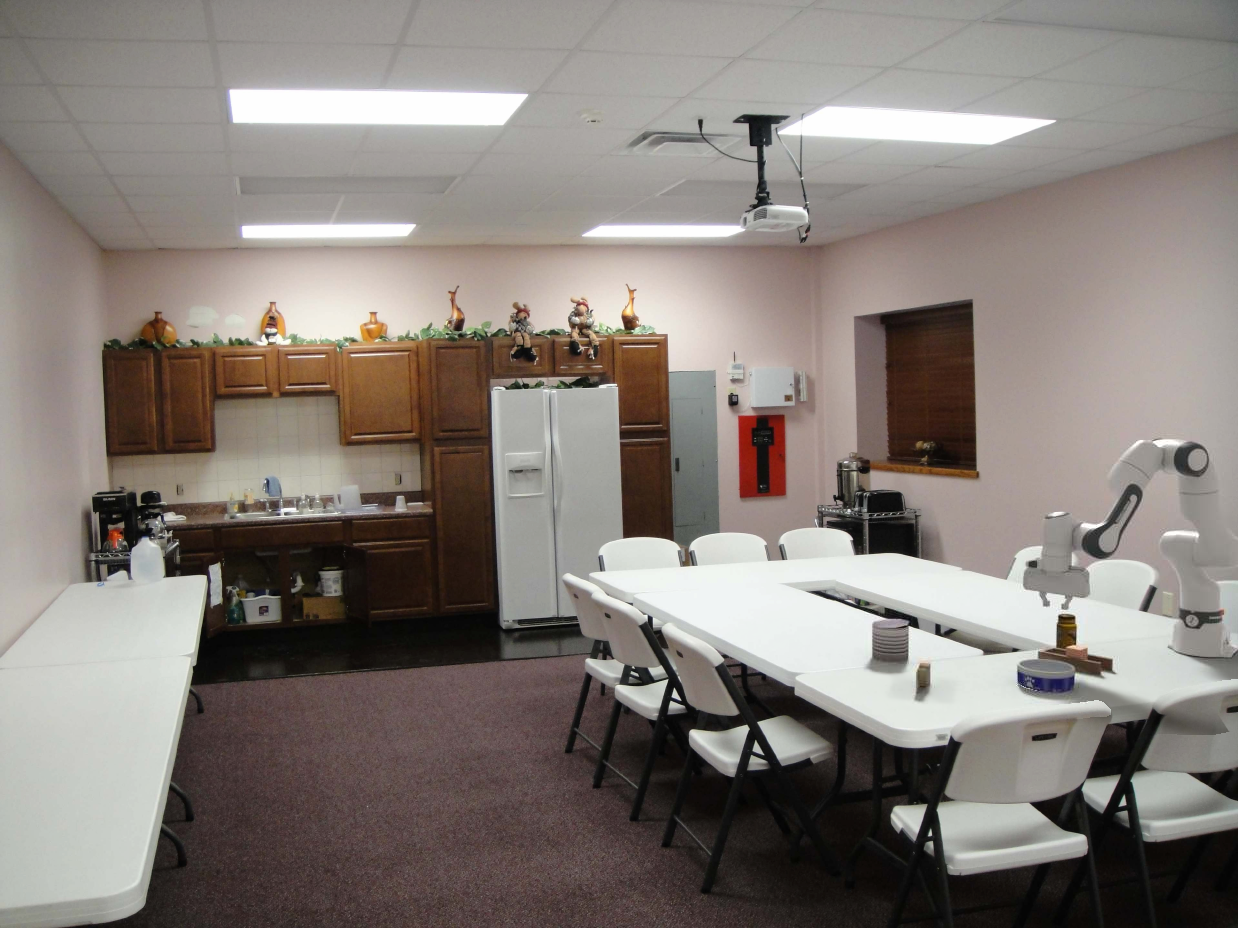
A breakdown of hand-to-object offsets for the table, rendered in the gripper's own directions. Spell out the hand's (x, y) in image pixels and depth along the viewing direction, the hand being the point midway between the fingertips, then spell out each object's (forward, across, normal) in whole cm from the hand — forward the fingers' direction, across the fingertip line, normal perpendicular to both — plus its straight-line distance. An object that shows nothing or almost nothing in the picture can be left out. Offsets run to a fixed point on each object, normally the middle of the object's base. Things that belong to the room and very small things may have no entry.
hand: (1055, 607), depth 309 cm
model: (+18, +10, +55) cm, 59 cm away
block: (+17, -7, 0) cm, 19 cm away
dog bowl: (+18, -11, +26) cm, 33 cm away
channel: (+17, -6, 0) cm, 18 cm away
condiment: (+17, +5, -15) cm, 24 cm away
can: (+17, +36, +35) cm, 53 cm away
